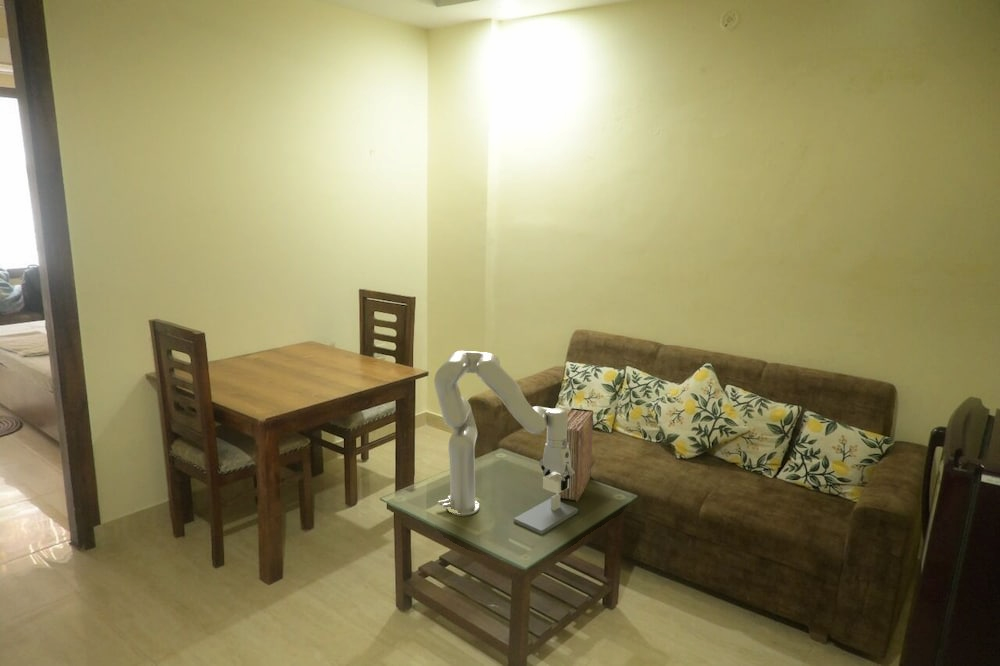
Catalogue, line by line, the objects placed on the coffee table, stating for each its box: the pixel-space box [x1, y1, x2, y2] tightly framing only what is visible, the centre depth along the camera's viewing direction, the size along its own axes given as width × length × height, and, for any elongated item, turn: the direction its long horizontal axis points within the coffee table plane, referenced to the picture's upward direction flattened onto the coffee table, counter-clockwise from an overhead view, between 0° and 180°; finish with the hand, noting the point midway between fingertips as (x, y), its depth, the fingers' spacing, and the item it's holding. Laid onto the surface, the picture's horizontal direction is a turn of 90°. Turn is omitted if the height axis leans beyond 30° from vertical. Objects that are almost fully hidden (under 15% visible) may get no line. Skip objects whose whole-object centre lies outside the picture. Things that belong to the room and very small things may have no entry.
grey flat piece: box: [513, 494, 579, 536], centre depth 229 cm, size 22×13×6 cm, turn 138°
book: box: [554, 407, 594, 503], centre depth 251 cm, size 25×9×30 cm, turn 159°
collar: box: [542, 471, 569, 494], centre depth 231 cm, size 7×7×4 cm
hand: (555, 486), depth 232 cm, fingers closed on collar, 7 cm apart
